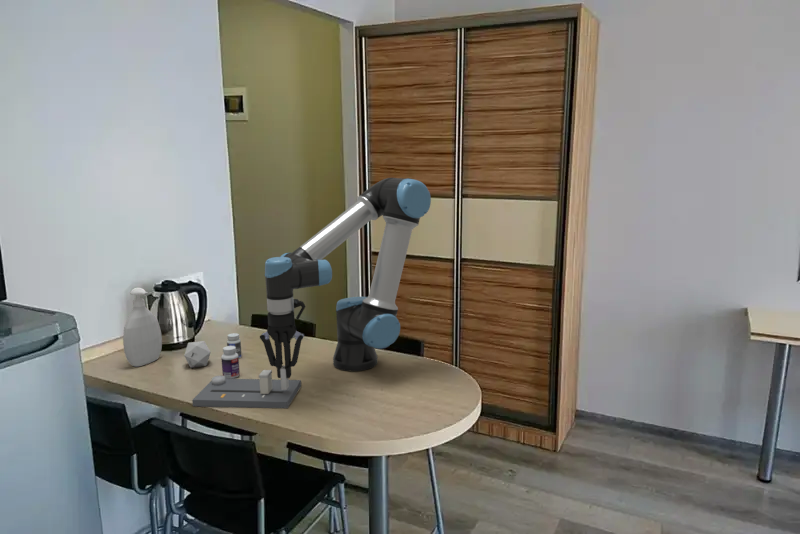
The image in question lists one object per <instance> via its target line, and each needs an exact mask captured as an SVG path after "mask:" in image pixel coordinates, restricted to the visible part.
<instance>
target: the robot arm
mask: <svg viewBox="0 0 800 534" xmlns="http://www.w3.org/2000/svg"><path fill="white" fill-rule="evenodd" d="M431 201H432V197H431V193H430V190H429V189H428V187H427V186H426V184H424V183H423V182H422V181H420V180H418V179H413V178H402V177H401V178H400V177H399V178H397V177H387V178H383V179H382V180H380V181H378V182H376V183H374V184H373V185H372V186H370V187H369V188H368V189H366V190H364V191H363V192H362V193H361V194H360V195H359V196H357V198H356V201H355V203H353V204H352V205H351V206H350V207H348V208H347V209H346V210H344V211H343V212H342V213H340V214H339V215H338V216H337V217H336V218H334V219H333V220H332V221H330V222H329V223H328V224H327V225H326V226H324V227H323V228H322V229H320V230H319V231H318V232H317V233H315V234H314V235H313V236H312V237H310V238H309V239H308V240H306V241H305V242H304V243H302V244H301V245H300V246H298V247H297V248H296V249H295V250H293V252H286V253H283V254H281V255H280V256H276V257H275V256H274V257H270V258H268V259H266V260H265V263H264V277H265V290H266V291H265V292H266V310H267V325H268V326H267V330H266V331H265V332H262V334H260V335H259V339H260V340H261V342H262V343H263V346H264V348H265V349H264V350H265V352H266V355H267V358H268V361H269V364H270V366H271V367H276V375H277V378H278V379H280V380H281V390H287V388H288V387H289V381H288V380H289V379H291V377H292V367H294V368H295V366H296V365H297V363H298V360H299V353H300V349H301V345H302V344H301V343H302V341H303V339H304V338H305V336H306V335H305V333H303V332H299V331H297V327H296V322H295V319H296V318H295V308H294V300H293V299H294V290H298V289H305V288H312V287H320V286H325V285H328V284H329V283H330V282H331V281H332V278H333V269H332V266H331V263H330V262H329V261H328V260H327V259H324V258H326V257H327V256H328V255H329V254H331V253H332V252H333V251H334V250H335V249H337V248H338V247H340V245H342V244H343V243H344V242H345V241H347V240H349V238H350V237H352V236H353V235H354V234H356V233H357V232H358V231H359V230H360V229H362V228H363V227H364V226H365V225H366V224H368V223H369V222H370V221H376V220H378V219H379V218H381V217H382V218H383V220H384V222H385V227H384V231H383V234H382V239H381V244H380V248H379V252H378V254H377V255H378V256H377V259H376V263H375V264H376V265H375V268H374V271H373V277H372V281H371V286H370V287H369V288H370V289H369V293H368V296H351V297H345V298H341V299H339V300H338V301H337V302H336V310H335V313H336V333H337V335H336V336H337V344H336V347H335V351H334V354H333V358H332V361H333V363H332V364H333V367H335V368H336V369H338V370H341V371H345V372H359V371H361V372H362V371H366V370H369V369H373V368H374V367H376V365H378V355H377V352H376V349H379V350H381V349H382V350H383V349H386V348H389V347H390V345H393V344H394V343H395V342H396V341H397V339H398V338H399V336H400V333H401V323H400V322H399V319H398V317H397V315H398V311H399V308H398V306H397V304H396V299H397V295H398V290H399V286H400V283H401V282H400V281H401V279H402V274H403V269H404V266H405V261H406V257H407V253H408V249H409V245H410V242H411V241H410V239H411V235H412V233H413V230H414V229H415V228H417V227H418V226H419V224H420V219H421V218H422V217H424V216H425V215H426V214H427V213H428V212H429V210H430V207H431V205H432V204H431V203H432V202H431ZM293 309H294V311H293ZM294 335H295V338H294V339H295V343H294V347H293V351H292V352H293V353H292V352H291V340H292V339H293V338H292V337H293V336H294ZM270 338H271V339H270ZM271 340H273V342H274V343H273V344H274V347H275V352H274V349H273V346H272V343H271V342H272V341H271ZM282 346H283V347H282ZM283 351H284V353H283ZM291 353H292V355H291ZM283 354H284V360H283ZM283 361H284V362H283ZM283 364H284V365H283Z"/></svg>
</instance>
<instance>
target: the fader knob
mask: <svg viewBox="0 0 800 534" xmlns="http://www.w3.org/2000/svg"><path fill="white" fill-rule="evenodd" d="M272 373H273V371H272V369H263V370H262V371H261V372H260V373H259V374H258V379H260V393H261V394H269V393H270V391H271V390H272V379H273V377H272V376H273V375H272Z"/></svg>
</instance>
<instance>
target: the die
mask: <svg viewBox="0 0 800 534" xmlns="http://www.w3.org/2000/svg"><path fill="white" fill-rule="evenodd" d="M210 355H211V350H210V348H209V347H208V345H207V343H206V341H205V340H200V341H193V342H192V341H191V342H188V343H187V345H186V348H185V352H184V355H183V356H184V357H185V360H186V362H187V364H188V365H189V367H190V369H191V368H199V367H206V366H207V365H208V362H209V359H210Z"/></svg>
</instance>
